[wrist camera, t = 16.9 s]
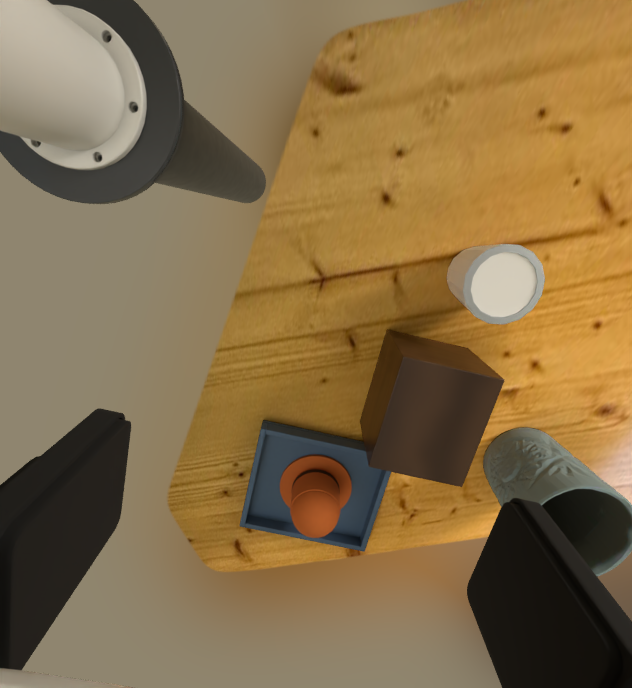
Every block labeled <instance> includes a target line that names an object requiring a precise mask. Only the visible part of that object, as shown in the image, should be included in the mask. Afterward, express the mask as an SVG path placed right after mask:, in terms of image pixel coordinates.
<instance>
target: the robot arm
mask: <svg viewBox="0 0 632 688" xmlns="http://www.w3.org/2000/svg"><path fill="white" fill-rule="evenodd" d="M110 38H111V41H110V42H109V39H110ZM136 107H138V111H137V112H135V108H136ZM146 110H147V99H146V89H145V84H144V79H143V76H142V73H141V70H140V67H139V65H138V62H137V60H136V59H135V57H134V55H133V53H132V52H131V50H130V48H129V47H128V46H127V44H126V43H125V42H124V41H123V39H122V38H121V37H120V36H119V35H118V34H117V33H116V32H115V31H114V30H113V29H112V28H111V27H110V26H109V25H107V24H106V23H105V22H103V21H102V20H101V19H99V18H98V17H97V16H95V15H93V14H91V13H89V12H87V11H85V10H83V9H80V8H76V7H72V6H68V5H52V4H51V3H50V2H49V1H47V0H0V131H3V132H7V133H10V134H14V135H17V136H20V137H21V138H22V139H23V141H24V142H25V143H26V144H27V145H28V146H29V147H30V148H31V149H33V150H34V151H35V152H36V153H38V154H39V155H40V156H42V157H43V158H45V159H47V160H49V161H50V162H52V163H55V164H57V165H60V166H63V167H66V168H71V169H76V170H97V169H103V168H105V167H108V166H110V165H113V164H115V163H116V162H118V161H119V160H121V159H122V158H124V157H125V156H126V155H127V154H128V153H129V152H130V150H131V149H132V148H133V147H134V145H135V144H136V142H137V140H138V139H139V137H140V135H141V132H142V129H143V126H144V123H145V117H146ZM40 142H41V144H40ZM101 156H102V161H101V160H100V157H101ZM130 432H131V422H130V421H126V420H125V417H124V414H123V413H118V412H114V411H109V410H104V409H97V410H95V411H94V412H92V413H91V414H90V415H89V416H88V417H87V418H85V419H84V420H83V421H82V422H81V423H79V424H78V425H77V426H76V427H75V428H73V429H72V430H71V431H70V432H69V433H67V434H66V435H65V436H64V437H63V438H62V439H60V440H59V441H58V442H57V443H56V444H55V445H53V446H52V447H51V448H50V449H48V450H47V451H46V452H45V453H44V454H43V455H41V456H39V457H35V458H34V459H32V460H31V461H29V462H28V463H27V464H25V465H24V466H23V467H22V468H21V469H19V470H18V471H17V472H16V473H15V474H13V475H12V476H11V477H10V478H8V479H7V480H6V481H5V482H4V483H2V484H1V485H0V688H133V687H127V686H121V685H115V684H109V683H102V682H95V681H89V680H82V679H75V678H68V677H62V676H55V675H49V674H42V673H35V672H29V671H22V668H23V667H24V665H25V664H26V662H27V661H28V659H29V658H30V656H31V655H32V653H33V652H34V650H35V649H36V647H37V646H38V644H39V643H40V641H41V640H42V638H43V637H44V635H45V634H46V632H47V631H48V629H49V628H50V626H51V625H52V623H53V622H54V620H55V619H56V617H57V616H58V614H59V613H60V611H61V610H62V608H63V607H64V605H65V604H66V602H67V601H68V599H69V598H70V596H71V595H72V593H73V592H74V590H75V589H76V587H77V586H78V584H79V583H80V581H81V580H82V578H83V577H84V575H85V574H86V572H87V571H88V569H89V568H90V566H91V565H92V563H93V562H94V560H95V559H96V557H97V556H98V554H99V553H100V551H101V550H102V548H103V547H104V545H105V544H106V542H107V541H108V539H109V538H110V536H111V535H112V533H113V532H114V530H115V529H116V526H117V524H118V522H119V519H120V515H121V509H122V500H123V491H124V483H125V475H126V465H127V457H128V449H129V440H130ZM467 595H468V600H469V603H470V606H471V608H472V611H473V613H474V616H475V618H476V621H477V624H478V626H479V629H480V631H481V634H482V637H483V639H484V642H485V644H486V647H487V649H488V652H489V655H490V657H491V659H492V662H493V665H494V667H495V670H496V673H497V675H498V678H499V680H500V683H501V685H502V688H632V621H631V620H630V619H629V617H628V616H627V615H626V614H625V612H624V611H623V610H622V608H621V607H620V606H619V605H618V603H617V602H616V601H615V599H614V598H613V597H612V596H611V594H610V593H609V592H608V590H607V589H606V588H605V587H604V585H603V584H602V583H601V582H600V580H599V579H598V578H597V576H596V575H595V574H594V572H593V571H592V570H591V568H590V567H589V566H588V565H587V563H586V562H585V561H584V559H583V558H582V557H581V556H580V554H579V553H578V552H577V550H576V549H575V548H574V547H573V545H572V544H571V543H570V541H569V540H568V539H567V537H566V536H565V535H564V534H563V532H562V531H561V530H560V528H559V527H558V526H557V525H556V523H555V522H554V521H553V519H552V518H551V517H550V516H549V514H548V513H547V512H546V510H545V509H544V508H543V507H542V505H540V504H539V503H537V502H533V501H529V500H524V499H519V498H513V499H511V500H510V501H509V502H506V503H504V504H503V506H502V508H501V510H500V512H499V514H498V517H497V519H496V521H495V524H494V526H493V528H492V530H491V533H490V535H489V537H488V539H487V542H486V544H485V546H484V549H483V551H482V553H481V556H480V558H479V560H478V562H477V565H476V567H475V569H474V571H473V574H472V576H471V579H470V580H469V583H468V587H467Z"/></svg>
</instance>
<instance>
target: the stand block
mask: <svg viewBox="0 0 632 688" xmlns="http://www.w3.org/2000/svg"><path fill="white" fill-rule="evenodd" d="M503 383H504V379H503V378H502V377H500V376H499V375H498V374H497V373H496V372H495V371H494V370H492V369H491V368H490V367H489V366H488V365H487V364H486V363H484V362H483V361H482V360H481V359H480V358H479V357H477V356H476V355H475V354H474V353H473V352H472V351H471V350H469V349H468V348H464V347H460V346H456V345H451V344H447V343H443V342H438V341H434V340H430V339H426V338H421V337H417V336H413V335H409V334H404V333H400V332H396V331H391V330H387V331H386V335H385V338H384V341H383V345H382V348H381V352H380V355H379V358H378V362H377V365H376V368H375V372H374V375H373V379H372V382H371V385H370V389H369V392H368V395H367V399H366V402H365V405H364V409H363V412H362V416H361V419H360V424H361V429H362V434H363V439H364V445H365V450H366V455H367V460H368V465H369V467H371V468H376V469H381V470H385V471H390V472H395V473H399V474H404V475H409V476H413V477H418V478H423V479H427V480H432V481H437V482H441V483H446V484H451V485H455V486H460V487H462V486H463V483H464V481H465V478H466V476H467V473H468V471H469V468H470V466H471V463H472V461H473V458H474V455H475V453H476V450H477V448H478V445H479V443H480V440H481V438H482V435H483V433H484V430H485V428H486V425H487V423H488V420H489V418H490V415H491V413H492V410H493V408H494V405H495V403H496V400H497V398H498V395H499V393H500V390H501V388H502V385H503Z"/></svg>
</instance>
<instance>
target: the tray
mask: <svg viewBox="0 0 632 688" xmlns="http://www.w3.org/2000/svg"><path fill="white" fill-rule="evenodd" d="M314 454H315V455H325V456H328V457H331V458H333V459H335V460H337V461H338V462H340V463H341V464H342V465H343V466H344V467H345V468H346V470H347V471H348V473H349V475H350V478H351V484H352V491H351V495H350V498H349V500H348V502H347V503H346V504H345V506H344V507H343V508H342V509H340V516H339V519H338V522H337V524H336V526H335V528H334V529H333V530H332V531H331V532H330V533H329V534H327V535H326V536H323V537H320V538H311V537H307V536H305V535H303V534H302V533H300V532H299V531H298V530H297V528H296V527H295V525H294V523H293V521H292V517H291V514H290V508H289V507H288V506H287V505H286V503H285V502H284V500H283V498H282V496H281V493H280V480H281V476H282V474H283V472H284V470H285V469H286V467H287V466H288V465H289V464H290V463H292V462H293V461H294V460H296V459H298V458H300V457H303V456H307V455H314ZM390 474H391V472H390V471H385V470H381V469H376V468H371V467H369V465H368V460H367V455H366V450H365V445H364V442H362V441H358V440H353V439H348V438H344V437H339V436H335V435H330V434H325V433H321V432H316V431H312V430H307V429H302V428H298V427H293V426H289V425H284V424H279V423H275V422H270V421H266V420H263V423H262V427H261V430H260V435H259V440H258V444H257V449H256V453H255V458H254V462H253V467H252V471H251V476H250V481H249V485H248V490H247V494H246V499H245V503H244V508H243V512H242V517H241V521H240V526H241V527H246V528H251V529H256V530H261V531H266V532H271V533H276V534H280V535H285V536H290V537H295V538H300V539H305V540H310V541H315V542H320V543H325V544H330V545H335V546H340V547H345V548H350V549H355V550H360V551H365V548H366V545H367V542H368V539H369V536H370V533H371V530H372V527H373V524H374V521H375V518H376V515H377V512H378V509H379V506H380V503H381V500H382V497H383V495H384V492H385V489H386V486H387V483H388V480H389V477H390Z"/></svg>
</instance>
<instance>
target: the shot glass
mask: <svg viewBox="0 0 632 688" xmlns="http://www.w3.org/2000/svg"><path fill="white" fill-rule="evenodd" d="M544 282H545V277H544V272H543V267H542V264H541V262H540V261H539V260H538V258H537V257H536V255H535V254H534V253H533V252H532V251H530V250H528V249H526V248H524V247H522V246H520V245H510V244H499V245H487V246H475V247H471V248H468V249H465V250H463V251H462V252H460V253H459V254H458V255H457V256H456V257H454V259H453V260H452V262H451V264H450V266H449V267H448V272H447V283H448V287H449V290H450V291H451V292H452V293H453V294H454V296H455V297H456V298H457V299H458V300H459V301H460V302H461V303H462V304H463V305H464V306H465V307H466V308H467V309H468V310H469V311H470V312H471V313H472V314H473V315H474V316H475V317H477V318H479V319H481V320H483V321H485V322H487V323H490V324H507V323H510V322H513V321H516V320H519V319H521V318H522V317H523V316H525V315H526V314H527V313H528V312H530V311H531V310H532V309H533V308H534V306H535V305H536V303H537V302H538V300H539V299H540V297H541V296H542V291H543V287H544Z"/></svg>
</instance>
